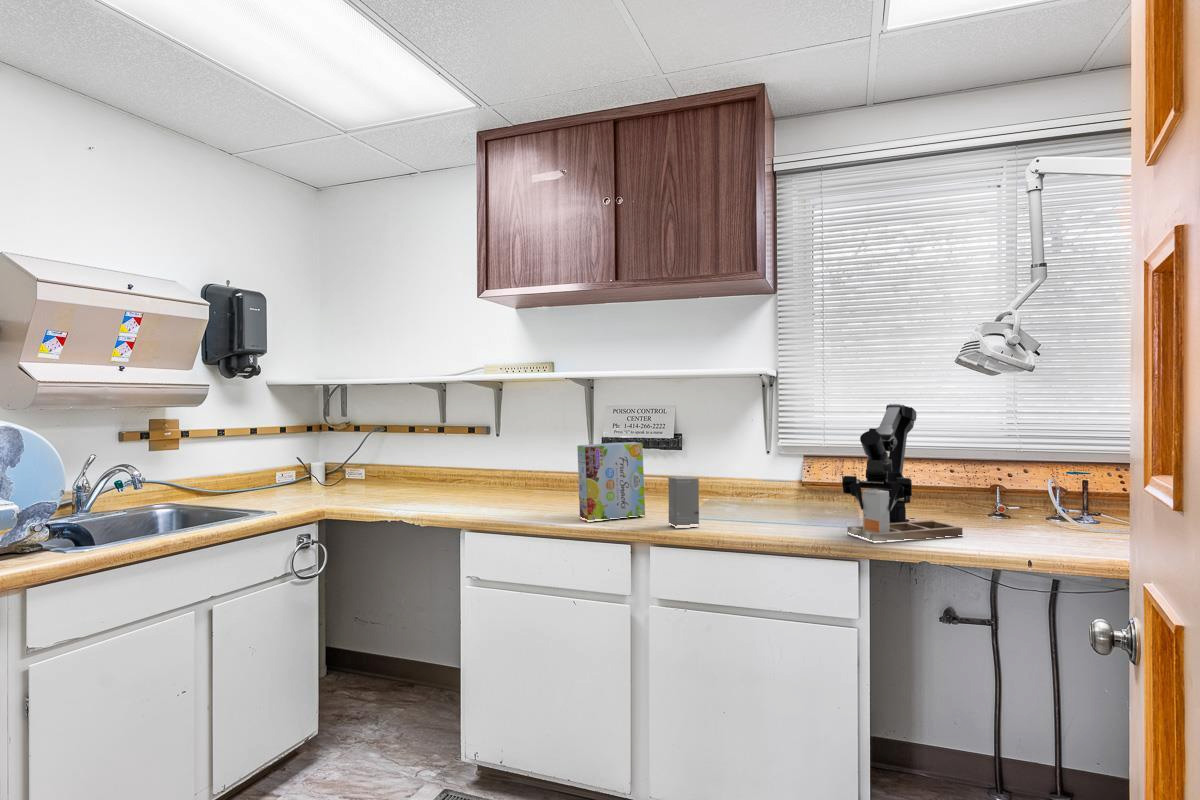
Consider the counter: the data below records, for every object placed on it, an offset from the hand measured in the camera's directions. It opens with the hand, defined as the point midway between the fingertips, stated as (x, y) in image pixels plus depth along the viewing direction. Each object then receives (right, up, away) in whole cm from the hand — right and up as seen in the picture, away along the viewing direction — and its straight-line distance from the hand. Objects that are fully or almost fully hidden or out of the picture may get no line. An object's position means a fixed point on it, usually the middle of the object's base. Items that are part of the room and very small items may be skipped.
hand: (875, 509), depth 190 cm
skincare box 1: (-52, -9, +22) cm, 57 cm away
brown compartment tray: (+10, -8, +4) cm, 13 cm away
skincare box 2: (+1, -7, +1) cm, 7 cm away
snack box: (-75, -9, +38) cm, 84 cm away
